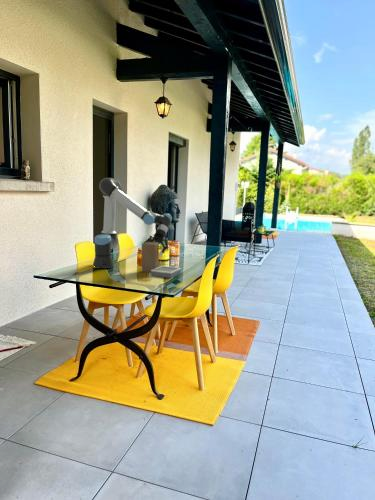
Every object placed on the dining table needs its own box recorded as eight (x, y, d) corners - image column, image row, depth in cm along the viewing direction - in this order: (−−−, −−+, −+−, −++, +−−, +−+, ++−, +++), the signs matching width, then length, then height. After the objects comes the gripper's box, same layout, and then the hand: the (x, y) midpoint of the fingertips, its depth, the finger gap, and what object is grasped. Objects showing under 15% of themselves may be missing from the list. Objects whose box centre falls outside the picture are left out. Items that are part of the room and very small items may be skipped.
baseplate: (151, 275, 253) (151, 270, 253) (161, 271, 267) (161, 265, 266) (171, 278, 247) (171, 272, 247) (180, 273, 261) (180, 268, 260)
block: (155, 272, 262) (155, 244, 258) (141, 272, 263) (141, 243, 260) (159, 269, 271) (158, 242, 268) (145, 268, 273) (145, 241, 269)
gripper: (178, 236, 274) (169, 260, 263) (148, 234, 284) (138, 257, 273) (175, 229, 269) (165, 253, 258) (144, 227, 278) (134, 250, 268)
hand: (151, 255), depth 265 cm, fingers open, 13 cm apart
